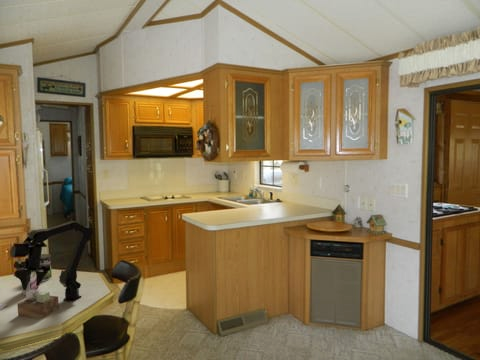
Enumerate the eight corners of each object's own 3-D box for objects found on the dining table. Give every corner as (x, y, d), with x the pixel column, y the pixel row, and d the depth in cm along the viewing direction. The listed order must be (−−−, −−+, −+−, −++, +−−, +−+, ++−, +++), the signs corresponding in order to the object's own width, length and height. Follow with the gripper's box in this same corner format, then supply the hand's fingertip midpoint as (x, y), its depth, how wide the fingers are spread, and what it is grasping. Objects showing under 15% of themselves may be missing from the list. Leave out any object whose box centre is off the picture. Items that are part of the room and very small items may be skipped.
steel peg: (33, 300, 188) (32, 289, 187) (39, 301, 187) (38, 290, 186) (26, 304, 184) (25, 292, 183) (33, 304, 183) (32, 293, 182)
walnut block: (37, 305, 192) (37, 293, 192) (58, 308, 189) (58, 296, 188) (18, 315, 181) (17, 303, 180) (39, 318, 177) (39, 306, 177)
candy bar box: (29, 288, 216) (27, 260, 214) (38, 287, 216) (37, 259, 215) (21, 295, 205) (19, 266, 203) (31, 295, 205) (29, 265, 204)
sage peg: (43, 302, 186) (42, 290, 185) (50, 303, 185) (49, 291, 184) (37, 305, 182) (36, 294, 182) (43, 306, 181) (43, 294, 180)
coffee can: (55, 277, 232) (54, 255, 230) (38, 283, 223) (37, 260, 222) (46, 274, 237) (44, 253, 236) (29, 279, 229) (28, 257, 227)
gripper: (32, 251, 194) (29, 281, 194) (5, 257, 176) (1, 290, 175) (52, 253, 193) (49, 284, 192) (26, 260, 174) (23, 293, 174)
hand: (31, 288), depth 183 cm, fingers open, 9 cm apart
